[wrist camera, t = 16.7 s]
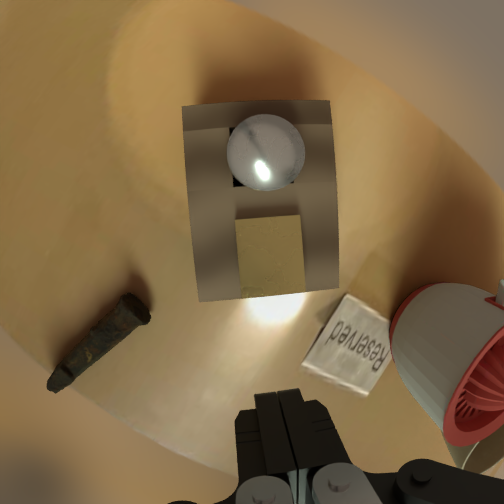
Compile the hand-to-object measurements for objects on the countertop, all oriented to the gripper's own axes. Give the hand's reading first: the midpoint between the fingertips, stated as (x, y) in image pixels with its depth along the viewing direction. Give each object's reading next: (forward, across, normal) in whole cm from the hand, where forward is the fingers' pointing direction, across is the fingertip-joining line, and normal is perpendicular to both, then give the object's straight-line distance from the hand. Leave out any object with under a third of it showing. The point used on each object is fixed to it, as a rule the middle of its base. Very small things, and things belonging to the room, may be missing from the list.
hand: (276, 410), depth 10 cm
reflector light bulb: (+24, -2, -9) cm, 26 cm away
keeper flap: (+16, -2, -1) cm, 16 cm away
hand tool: (+25, +19, +10) cm, 33 cm away
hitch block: (+25, -2, -6) cm, 26 cm away
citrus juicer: (+25, -24, +11) cm, 36 cm away
